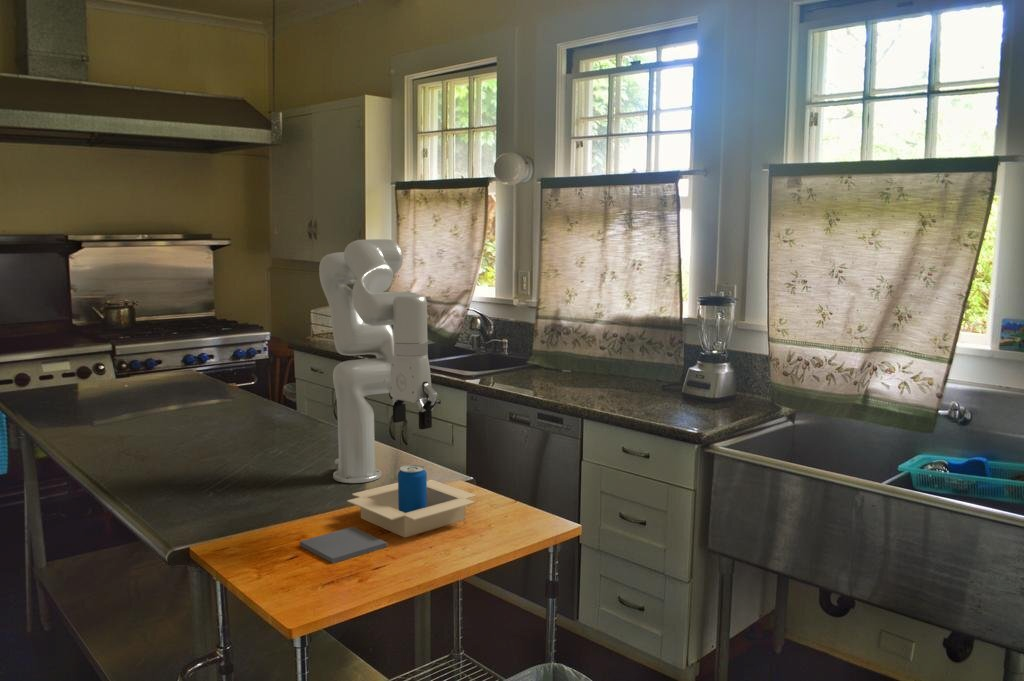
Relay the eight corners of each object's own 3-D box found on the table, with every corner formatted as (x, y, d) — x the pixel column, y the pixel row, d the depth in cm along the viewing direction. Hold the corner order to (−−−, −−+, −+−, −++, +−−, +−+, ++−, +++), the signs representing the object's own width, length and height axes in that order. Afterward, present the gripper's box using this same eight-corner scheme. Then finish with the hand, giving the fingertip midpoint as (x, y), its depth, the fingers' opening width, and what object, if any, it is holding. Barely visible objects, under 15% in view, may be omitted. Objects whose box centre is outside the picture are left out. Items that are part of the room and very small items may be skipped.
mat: (299, 545, 181) (299, 541, 181) (352, 531, 190) (352, 526, 189) (332, 563, 171) (332, 558, 171) (387, 547, 180) (386, 542, 180)
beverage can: (427, 514, 201) (427, 464, 199) (426, 523, 194) (425, 472, 193) (400, 514, 201) (399, 464, 199) (397, 523, 194) (396, 472, 193)
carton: (339, 517, 198) (339, 496, 197) (422, 495, 214) (422, 476, 214) (400, 545, 181) (400, 523, 180) (486, 519, 197) (486, 498, 196)
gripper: (374, 348, 196) (376, 421, 198) (420, 355, 184) (422, 433, 186) (401, 345, 201) (403, 417, 203) (448, 352, 189) (449, 428, 191)
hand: (412, 425), depth 194 cm, fingers open, 9 cm apart
